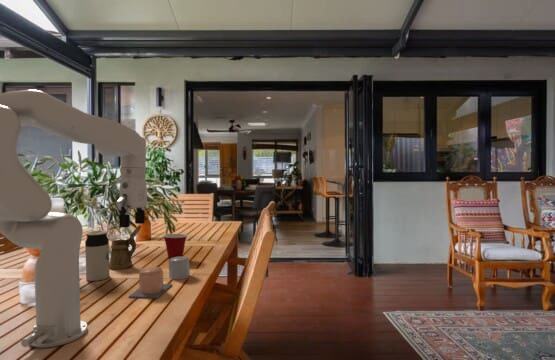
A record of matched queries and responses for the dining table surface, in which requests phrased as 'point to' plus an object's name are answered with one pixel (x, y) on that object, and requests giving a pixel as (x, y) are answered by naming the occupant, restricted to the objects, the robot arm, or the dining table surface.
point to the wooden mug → (122, 252)
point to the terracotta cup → (151, 280)
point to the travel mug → (97, 255)
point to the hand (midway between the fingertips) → (132, 225)
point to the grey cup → (179, 267)
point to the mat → (155, 295)
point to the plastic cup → (175, 244)
